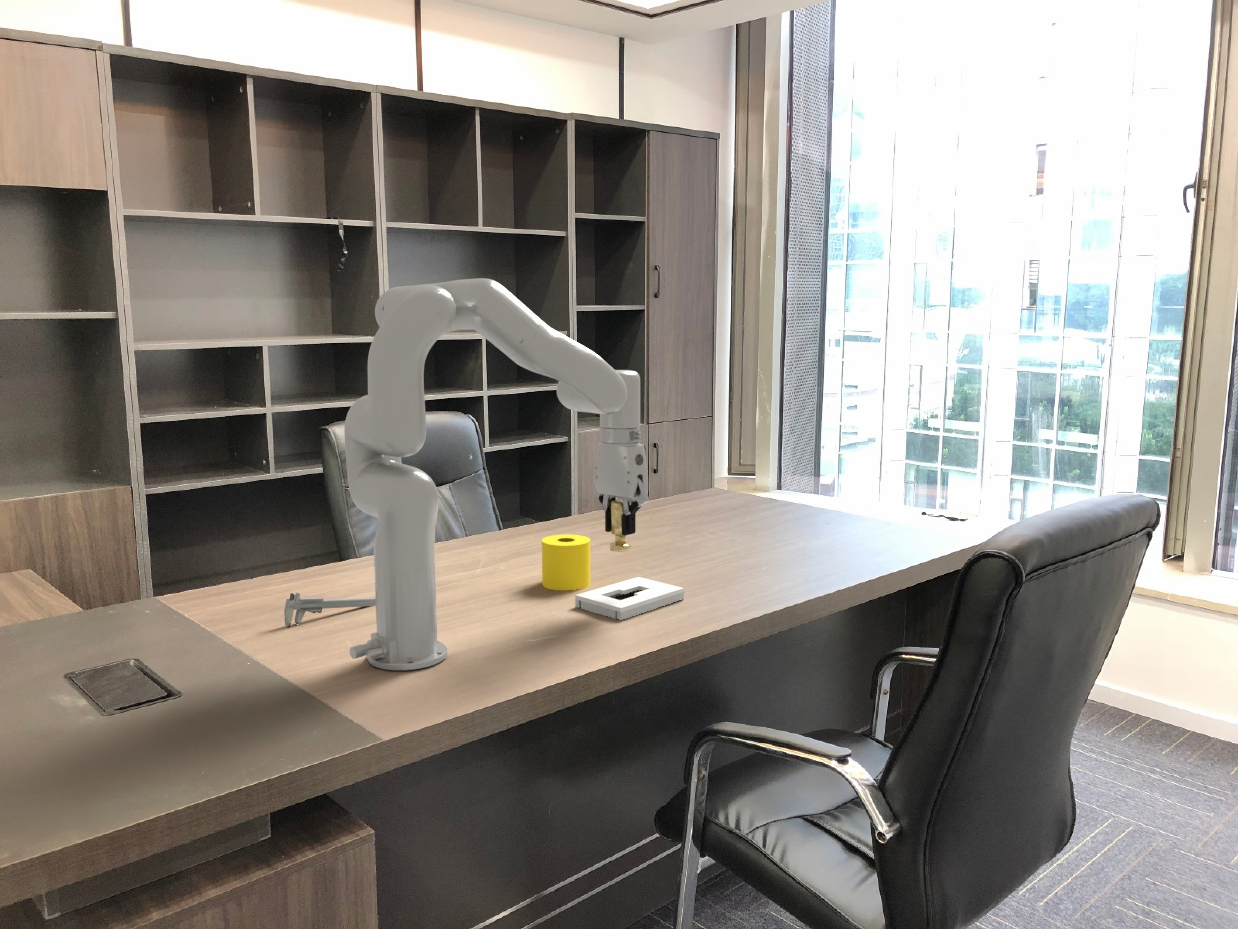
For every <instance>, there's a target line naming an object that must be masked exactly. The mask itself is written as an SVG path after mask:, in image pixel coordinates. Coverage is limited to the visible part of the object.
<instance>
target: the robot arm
mask: <svg viewBox="0 0 1238 929" xmlns="http://www.w3.org/2000/svg"><path fill="white" fill-rule="evenodd" d="M374 316H375V321H376V323H377V325H378V326H379V327H378V329H377V331H376V333H375V335H374V336H373V339H372V342H371V344H370V347H369V351H368V355H367V356H368V358H367V394H365V395H363V396H361V397H360V398H358V399H357V400H356V401H354V403H352V405H351V406H350V408H349V410H348V411H347V413H346V417H345V421H344V428H343V429H344V430H343V431H344V432H343V433H344V446H345V461H346V462H345V463H346V472H347V475H346V476H347V482H348V491H349V494H350V498H351V500H352V502H353V504H354V505H355V506H356V507H357V509H359V510H360V511H361V512H362V513H364V514H366V515H369V516H371V517H374V518H377V519H378V520H377V521H378V522H377V528H376V532H375V539H374V542H373V543H374V545H373V567H374V588H375V589H374V590H375V591H374V592H375V594H374V595H375V598H376V605H375V616H376V617H375V618H376V620H375V621H376V622H375V623H376V632H373V633H370V640H367V641H366V642H365V643H364V644H363V643H362V644H357V645H353V646H351V647H350V648H349V654H350V655H349V656H350V657H351V659H353V660H355V659H358V658H362V657H366V658H367V661H368V663H369V664H370V665H371V666H373V667H375V668H378V669H382V670H387V671H411V670H412V671H413V670H419V669H425V668H428V667H431V666H434V665H437V664H439V663H441V662H442V661H444V659H446V657H447V655H448V648H447V645H445V643H443V642H442V641H439V640H438V625H437V624H438V623H437V621H438V620H437V594H436V593H437V588H436V586H437V584H436V560H435V559H436V555H435V553H436V552H435V550H436V549H435V547H436V546H435V543H436V541H435V540H436V539H435V537H436V535H435V534H436V525H437V524H436V523H437V520H438V519H437V518H438V511H439V503H440V502H439V497H440V496H439V491H438V488H437V486H436V485H437V484H436V483H435V481H434V480H433V479H432V477H431V476H430V475H428V474H427V473H426V472H425V471H423V470H422V469H420V468H418V467H416V466H412V465H408V464H404V463H402V458H407V457H410V456H414V455H415V454H417V453H418V452H419V451H420V450H421V449H422V448H423V447H424V444H425V442H426V439H427V438H426V437H427V417H426V400H425V399H426V398H425V387H424V386H425V383H424V378H425V376H424V374H425V372H424V371H425V364H426V359H427V356H428V354H429V352H430V350H431V349H432V347H433V346H434V345H435V343H436V342H437V341H438V340H439V339H440V338H441V337H442V336H444V335H445V334H446V333H449V332H455V331H461V330H463V331H464V330H466V331H469V330H470V331H472V330H473V331H475V332H477V333H478V334H480V336H482V337H483V338H484V339H486V341H488V342H490V344H492V345H493V346H494V347H495V348H497V349H498V350H499V351H501V352H502V353H503V354H504V355H505V356H507V357H508V358H509V359H510V360H511V361H512V362H514V363H515V364H516V365H518V366H520V367H522V368H523V369H526V370H528V371H530V372H533V373H535V374H539V375H542V376H544V377H548V378H551V379H555V380H557V381H558V383H557V386H556V396H557V398H558V400H559V402H560V403H561V405H563V406H564V407H565V408H566V409H568V410H571V411H575V412H581V413H592V414H597V415H599V442H598V445H597V450H596V451H597V452H596V457H595V467H594V468H595V471H594V483H595V485H594V487H593V489H592V494H593V495H594V496H595V497H596V498H597V499H598V501H599V502H600V504H601V505H602V511H604V514H605V515H604V518H605V519H604V520H605V521H604V524H605V525H604V528H605V530H604V531H605V532H607V533H611V501H614V500H618V498H621V499H622V500H623V507H624V513H625V514H623V515H622V535H624V536H626V537H627V536H629V535H634V534H636V528H637V527H636V526H637V525H636V524H637V523H636V518H637V517H636V515H637V514H638V512H640V511H639V510H640V509H641V508H642V506H644V505H645V504H647V503H649V502H650V497H649V495H648V492H649V475H648V474H649V473H648V471H649V470H648V461H647V455H646V449H645V446H644V444H642V443H641V441H642V440H643V438H644V434H643V433H642V432H641V377H640V373H638V372H637V371H635V370H631V369H630V370H629V369H614V367H613V366H611V365H610V364H609V363H608V362H607V361H606V360H604V358H602V357H601V356H600V355H598V354H597V353H596V352H594V351H593V350H591V349H589V348H588V347H586V346H585V345H583V344H581V343H580V342H577V341H576V340H573V339H572V338H571V337H568V336H567V335H565V334H564V333H562V332H560V331H558V330H556V329H555V328H553V327H551V326H550V325H548V324H547V323H546V322H545V321H544V320H542V319H541V318H540V317H539V316H538V315H536V314H535V313H534V312H533V311H532V310H531V309H530V308H529V307H527V306H526V304H524V303H523V302H522V301H521V300H520V299H518V298H517V296H515V295H514V294H513V293H512V292H511V291H510V290H508V288H506V287H505V286H504V285H502V284H501V283H499V282H498V281H496V280H494V279H491V278H483V277H481V278H465V279H455V280H449V281H444V282H443V281H442V282H434V283H425V284H416V285H404V286H403V285H402V286H395V287H391V288H389V289H387V290H386V291H384V292H382V294H381V295H380V297H379V298H378V299H377V301H376V303H375V307H374ZM629 501H630V502H629Z"/></svg>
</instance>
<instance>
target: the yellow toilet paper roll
mask: <svg viewBox="0 0 1238 929" xmlns="http://www.w3.org/2000/svg"><path fill="white" fill-rule="evenodd" d="M541 579H542V581H541V582H542V584H541V585H542V587H543V586H544V587H543V588H545V589H548V590H551V589H554V590H553V591H558V590H573V591H575V590H574V589H580V590H583V588H584V589H586V588H585V587H587V586H588V587H590V586H591V538H590V537H588V536H585V535H579V534H556V535H550V536H549V535H548V536H545V537H544V538H542V539H541ZM589 585H590V586H589ZM588 587H587V588H588Z"/></svg>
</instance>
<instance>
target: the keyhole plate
mask: <svg viewBox="0 0 1238 929" xmlns="http://www.w3.org/2000/svg"><path fill="white" fill-rule="evenodd" d="M640 590H642V591H640ZM684 590H685V589H684V587H681V586H676V585H673V584H669V583H666V582H661V581H657V580H652V579H649V578H646V577H645V578H644V577H641V576H637V577H633V578H629V579H626V580H625V579H624V580H621V581H620V582H616V583H611V584H607V585H605V586H602V587H598V588H595V589H592V590H588V591H585V592H580V593H578V594H575V600H574V601H575V603H574V604H575V605H574V606H575V607H574V608H577V607H578V609H581V610H583V609H585V610H584V611H587V610H588V611H587V612H591V613H594V614H597V613H598V614H597V615H600V614H601V615H602V616H604V617H607V616H608V617H607V618H610V617H611V618H612V619H614V620H616V619H619V620H618V621H621V620H622V621H624V620H623V619H625V620H627V618H628V619H631V618H633V617H632V616H634V617H636V615H637V616H639V614H640V615H642V614H641V613H643V614H646V613H648V612H647V611H649V612H651V611H650V610H652V609H655V610H657V609H656V608H658V607H660V606H664V607H666V606H665V605H667V604H669V603H672V602H676V601H678V600H680V599H685V598H684V593H685V592H684ZM633 591H634V592H633ZM637 591H638V592H637ZM630 592H631V593H633V596H630V597H627V598H624V599H617V597H620V596H623V594H624V595H627V594H630ZM616 596H617V597H616ZM676 603H677V602H676ZM667 606H668V605H667ZM580 607H581V608H580ZM658 609H659V608H658ZM652 611H653V610H652ZM645 612H646V613H645ZM630 617H631V618H630Z"/></svg>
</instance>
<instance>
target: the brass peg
mask: <svg viewBox="0 0 1238 929" xmlns="http://www.w3.org/2000/svg"><path fill="white" fill-rule="evenodd" d="M629 502H630V503H631V501H629ZM623 514H625V513H624V507H623V499H617V500H614V501H611V532H610V534H611V535H614V537H615V538H614V541H613V542H610V543H609V550H610V551H611V552H615V553H616V552H617V553H622V552H623V553H625V552H629V551H631V550H632V544H631V542H628V541H627V540H626V538H627V535H626V536H624V535H622V515H623Z"/></svg>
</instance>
